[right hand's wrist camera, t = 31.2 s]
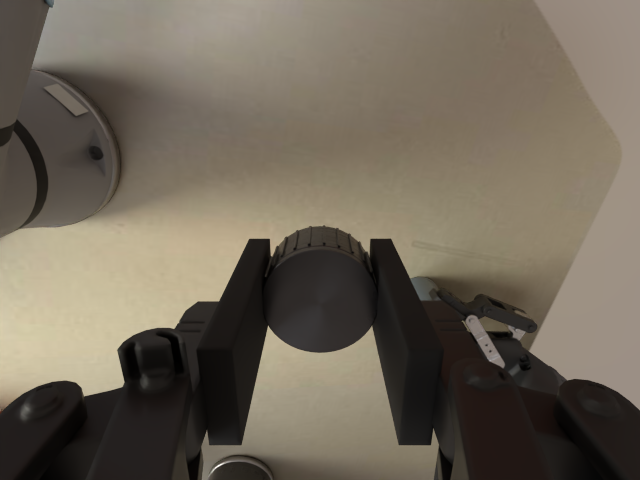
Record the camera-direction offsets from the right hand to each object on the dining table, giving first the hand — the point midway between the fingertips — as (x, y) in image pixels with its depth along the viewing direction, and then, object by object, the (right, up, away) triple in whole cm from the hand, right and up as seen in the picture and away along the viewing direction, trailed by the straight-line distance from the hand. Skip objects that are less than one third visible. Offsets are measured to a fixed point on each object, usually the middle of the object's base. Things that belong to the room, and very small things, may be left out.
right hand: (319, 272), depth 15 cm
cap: (0, -1, -2) cm, 2 cm away
